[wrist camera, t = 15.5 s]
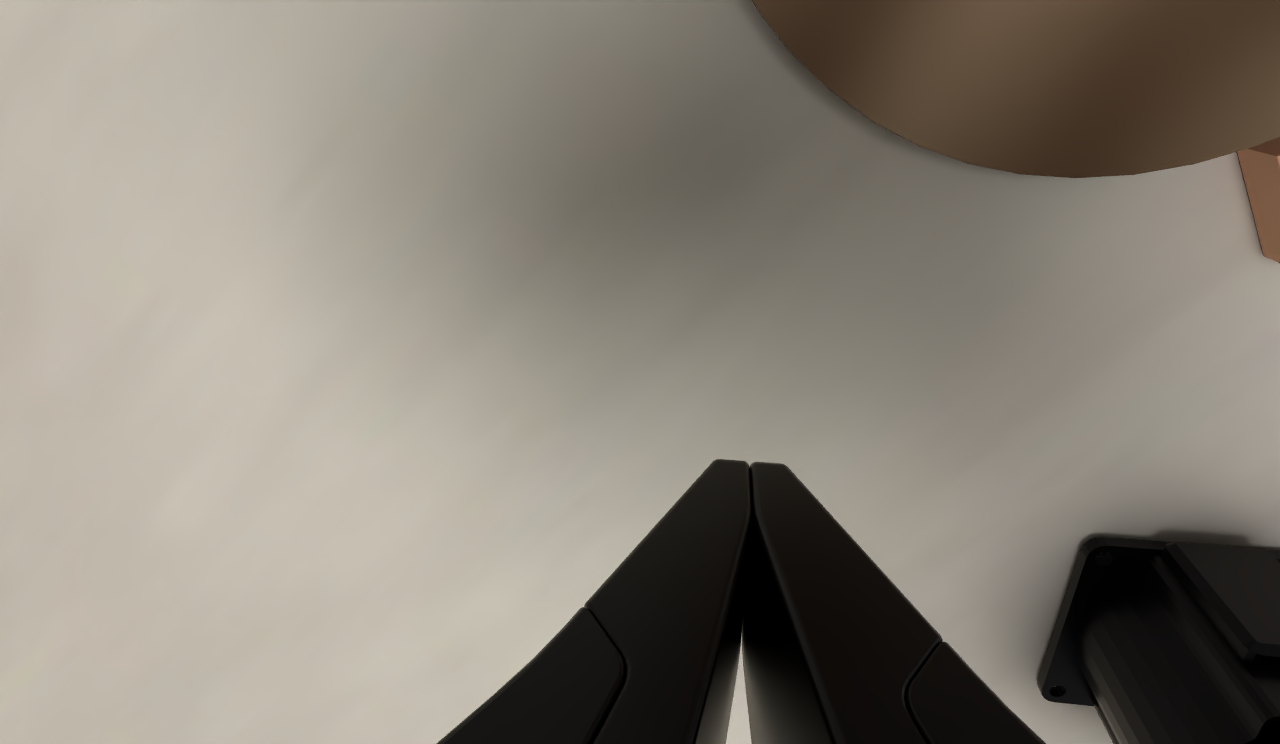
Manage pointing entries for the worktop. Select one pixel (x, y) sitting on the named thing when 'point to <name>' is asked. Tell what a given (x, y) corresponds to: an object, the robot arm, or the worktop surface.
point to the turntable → (1050, 77)
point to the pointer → (1264, 192)
